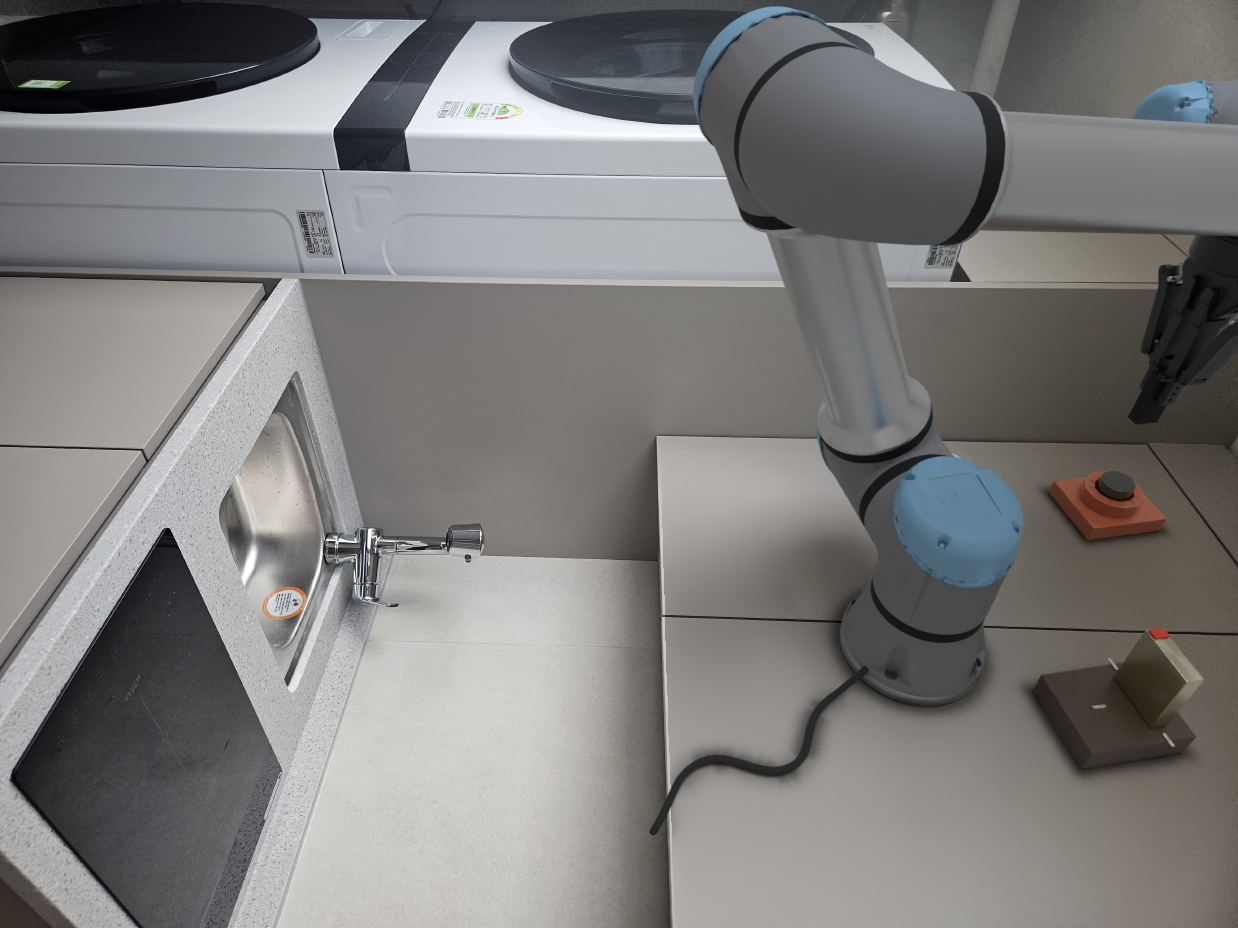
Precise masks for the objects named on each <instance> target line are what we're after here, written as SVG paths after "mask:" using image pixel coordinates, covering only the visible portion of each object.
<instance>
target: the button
mask: <svg viewBox="0 0 1238 928" xmlns="http://www.w3.org/2000/svg"><path fill="white" fill-rule="evenodd" d="M1106 471H1107V470H1106ZM1121 472H1122V471H1116V470H1108V471H1107V472H1105V473H1103V474H1102V475H1101V477H1100V479H1099V481H1098V483H1097V485H1096V488H1097V491H1098V492H1099V493H1100V494H1101V495H1103V496H1105V497H1107V498H1108V499H1110V500H1115V501H1119V502H1123V501H1127V500H1128V499H1129V498H1130V497H1131V495H1132V493H1133V492H1134V490H1135V488H1136V484H1135V482H1136V481H1135V480H1134V479H1133V478H1132V477H1130V476H1129V475H1127V474H1126V473H1124V472H1123V473H1124V474H1123V473H1121ZM1134 481H1135V482H1134Z"/></svg>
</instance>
